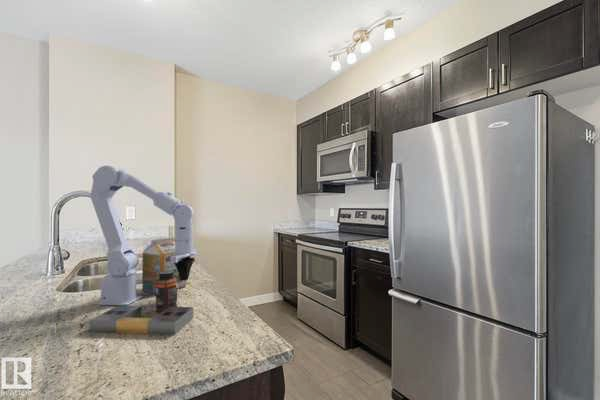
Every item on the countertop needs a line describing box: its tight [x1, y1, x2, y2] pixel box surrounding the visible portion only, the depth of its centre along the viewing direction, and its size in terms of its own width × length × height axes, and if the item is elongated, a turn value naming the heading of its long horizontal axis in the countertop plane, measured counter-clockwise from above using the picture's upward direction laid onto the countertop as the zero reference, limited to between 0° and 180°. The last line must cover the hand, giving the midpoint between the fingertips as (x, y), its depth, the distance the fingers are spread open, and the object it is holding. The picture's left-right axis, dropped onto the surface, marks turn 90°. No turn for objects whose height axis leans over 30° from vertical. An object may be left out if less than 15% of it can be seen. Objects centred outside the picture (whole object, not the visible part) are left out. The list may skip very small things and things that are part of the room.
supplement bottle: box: [155, 271, 178, 313], centre depth 86 cm, size 6×6×11 cm
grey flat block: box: [88, 305, 194, 335], centre depth 75 cm, size 22×10×3 cm, turn 86°
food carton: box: [141, 236, 187, 295], centre depth 106 cm, size 11×11×19 cm
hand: (184, 279), depth 97 cm, fingers closed
